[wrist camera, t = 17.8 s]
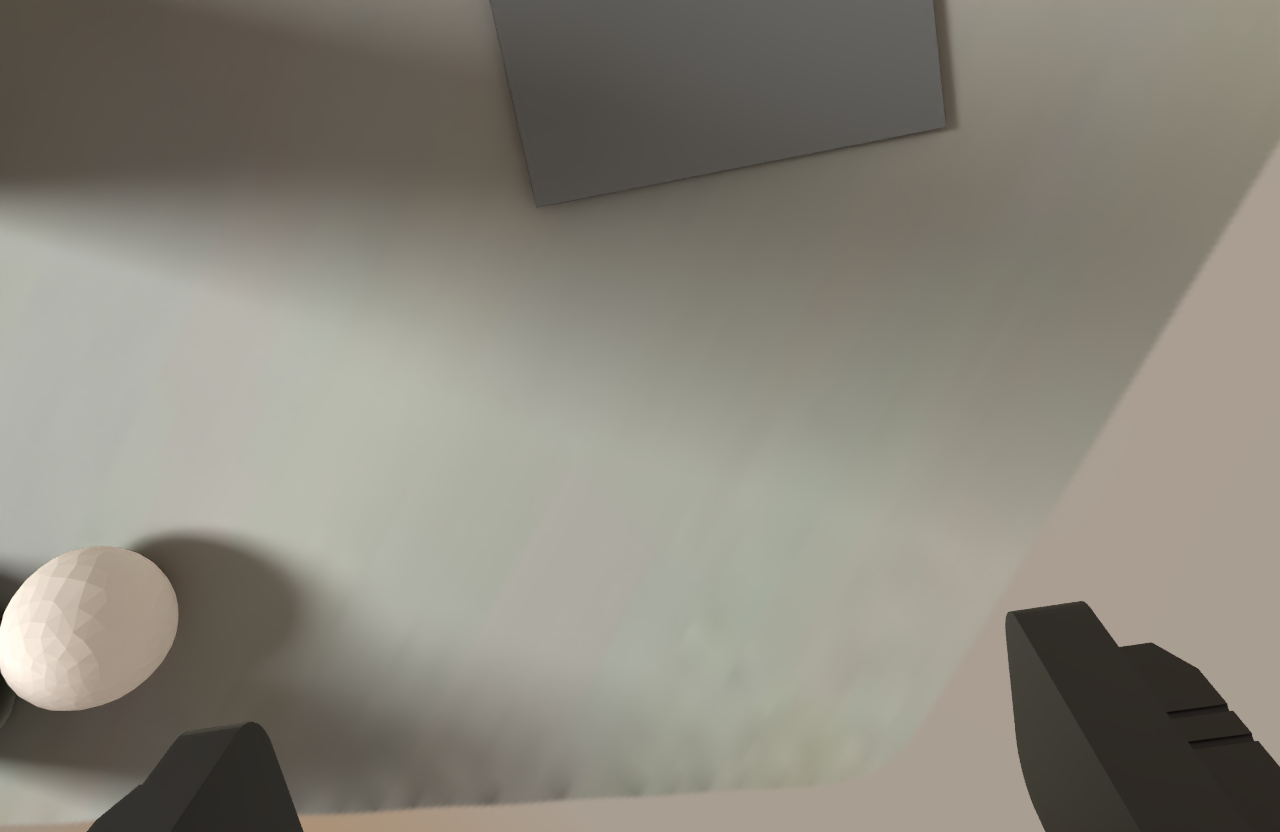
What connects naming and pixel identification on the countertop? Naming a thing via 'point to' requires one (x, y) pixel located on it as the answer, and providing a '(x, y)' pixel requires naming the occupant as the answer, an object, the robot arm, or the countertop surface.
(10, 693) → the green wine bottle
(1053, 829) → the robot arm
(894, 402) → the countertop surface
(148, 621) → the egg
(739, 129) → the mat
